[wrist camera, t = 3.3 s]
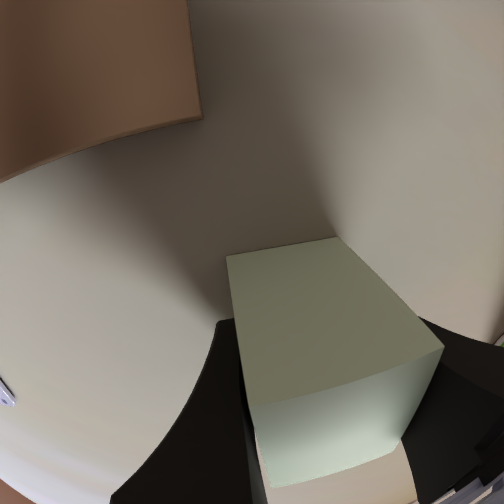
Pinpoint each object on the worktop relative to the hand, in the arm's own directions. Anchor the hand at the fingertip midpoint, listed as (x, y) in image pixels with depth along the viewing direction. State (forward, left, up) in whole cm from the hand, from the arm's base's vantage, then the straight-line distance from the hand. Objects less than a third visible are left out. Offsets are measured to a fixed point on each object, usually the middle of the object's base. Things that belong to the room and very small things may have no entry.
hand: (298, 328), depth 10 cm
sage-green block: (0, 0, -1) cm, 1 cm away
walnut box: (-7, +12, -2) cm, 14 cm away
